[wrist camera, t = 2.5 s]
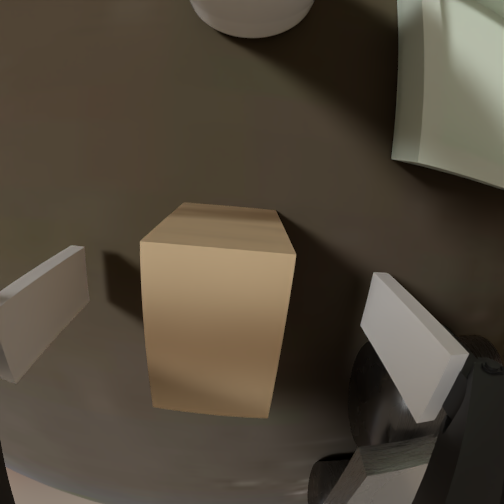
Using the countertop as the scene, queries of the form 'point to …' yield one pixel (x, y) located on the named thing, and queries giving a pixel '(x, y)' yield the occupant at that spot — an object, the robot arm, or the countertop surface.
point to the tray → (451, 88)
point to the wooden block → (215, 308)
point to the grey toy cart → (382, 438)
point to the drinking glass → (252, 15)
